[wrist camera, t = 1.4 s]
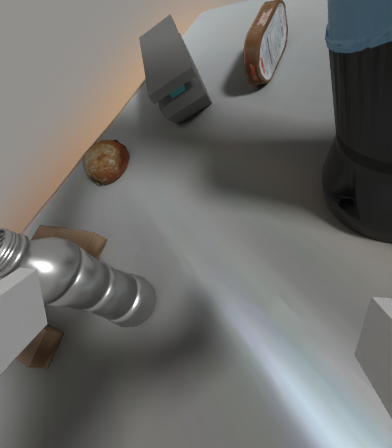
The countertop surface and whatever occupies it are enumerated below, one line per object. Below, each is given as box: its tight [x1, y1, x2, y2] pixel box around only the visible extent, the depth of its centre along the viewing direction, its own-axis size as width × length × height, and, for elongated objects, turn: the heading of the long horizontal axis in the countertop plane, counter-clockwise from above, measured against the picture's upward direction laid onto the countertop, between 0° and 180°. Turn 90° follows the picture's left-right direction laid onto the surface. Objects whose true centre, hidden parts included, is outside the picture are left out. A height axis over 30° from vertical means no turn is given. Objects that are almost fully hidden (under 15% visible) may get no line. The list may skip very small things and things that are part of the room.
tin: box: [243, 0, 288, 85], centre depth 45 cm, size 15×3×8 cm, turn 154°
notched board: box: [16, 225, 107, 368], centre depth 46 cm, size 21×18×3 cm
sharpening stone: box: [139, 15, 212, 124], centre depth 51 cm, size 25×8×11 cm, turn 12°
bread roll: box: [83, 140, 129, 186], centre depth 56 cm, size 10×10×8 cm
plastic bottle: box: [0, 228, 156, 327], centre depth 29 cm, size 6×7×20 cm
